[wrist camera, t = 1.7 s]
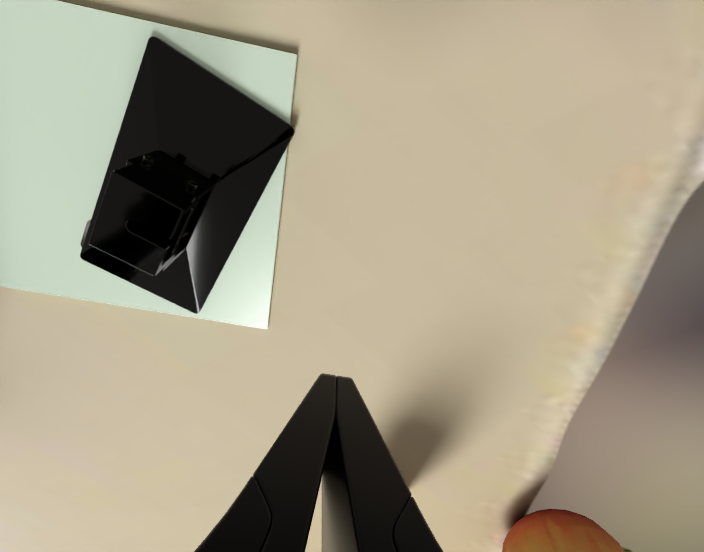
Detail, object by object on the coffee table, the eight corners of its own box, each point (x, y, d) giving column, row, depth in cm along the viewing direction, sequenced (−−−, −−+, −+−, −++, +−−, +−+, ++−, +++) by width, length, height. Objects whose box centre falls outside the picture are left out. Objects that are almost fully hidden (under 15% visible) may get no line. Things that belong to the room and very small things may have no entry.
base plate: (-37, 277, 22) (-92, 304, 19) (-146, -45, 15) (-256, -74, 12) (268, 326, 23) (256, 358, 20) (297, 54, 16) (286, 49, 14)
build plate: (201, 311, 22) (166, 362, 18) (79, 252, 21) (10, 294, 17) (297, 128, 17) (279, 143, 13) (147, 30, 16) (73, 12, 12)
